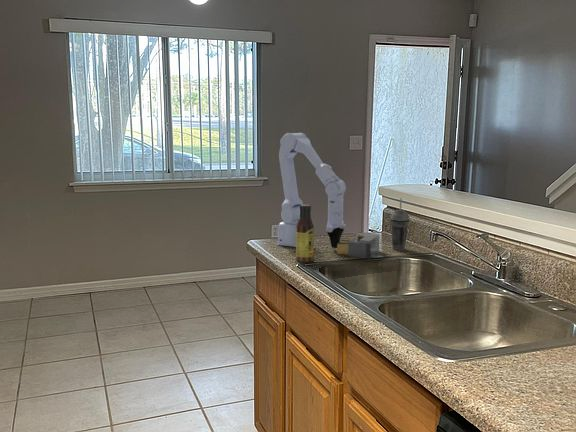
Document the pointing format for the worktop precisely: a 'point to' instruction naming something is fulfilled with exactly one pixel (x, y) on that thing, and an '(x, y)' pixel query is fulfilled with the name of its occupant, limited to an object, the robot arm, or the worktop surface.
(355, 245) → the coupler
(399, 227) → the beverage cup
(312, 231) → the sauce bottle
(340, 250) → the block
